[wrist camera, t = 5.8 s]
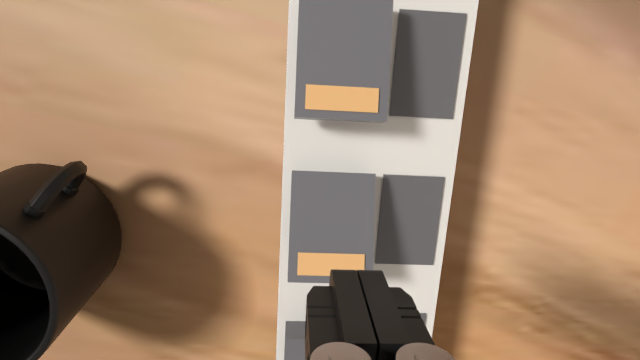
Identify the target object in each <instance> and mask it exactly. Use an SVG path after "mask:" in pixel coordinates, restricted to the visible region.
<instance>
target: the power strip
mask: <svg viewBox="0 0 640 360" xmlns="http://www.w3.org/2000/svg"><path fill="white" fill-rule="evenodd" d="M478 3H479V0H393V18H392V37H391V57H390V76H389V95H388V114H387V122H384V123H367V122H346V121H326V120H305V119H294V109H295V84H296V59H297V34H298V9H299V0H289V17H288V44H287V72H286V99H285V127H284V154H283V182H282V209H281V237H280V264H279V292H278V319H277V347H276V360H284V347H285V325H286V321H305V320H306V299H307V294H308V293H309V291H310V290H311V289H312V287H313V286H329V283H294V282H288V253H289V227H290V201H291V175H292V170H296V171H320V172H345V173H369V174H376V181H375V220H374V259H373V270H382V271H383V274H384V276H385V278H386V281H387V283H388V286H389V287H400V288H402V289H403V290H404V291H405V292H406V293H408V294H409V295H410V296H411V297H412V299H413V301H414V303H415V305H416V307H417V310H418V311H419V313H420V315H421V319H423V321H424V323H425V325H426V328H427V330H428V332H429V334H430V336H431V338H432V332H433V325H434V318H435V311H436V304H437V297H438V289H439V282H440V275H441V268H442V261H443V254H444V246H445V239H446V232H447V225H448V218H449V211H450V203H451V196H452V189H453V182H454V175H455V168H456V161H457V153H458V146H459V139H460V132H461V125H462V118H463V110H464V103H465V96H466V89H467V82H468V75H469V67H470V60H471V53H472V46H473V39H474V32H475V24H476V17H477V10H478Z"/></svg>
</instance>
